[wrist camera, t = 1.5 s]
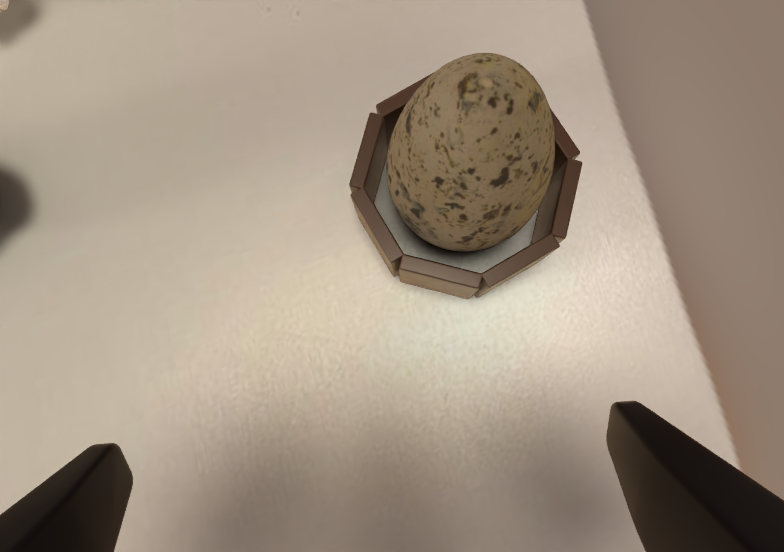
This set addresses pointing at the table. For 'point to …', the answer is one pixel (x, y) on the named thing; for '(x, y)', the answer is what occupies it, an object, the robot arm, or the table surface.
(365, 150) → the egg holder
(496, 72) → the decorative egg
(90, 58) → the table surface
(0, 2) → the figurine
